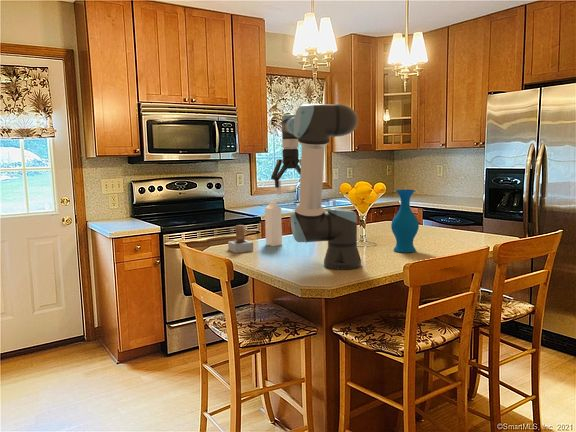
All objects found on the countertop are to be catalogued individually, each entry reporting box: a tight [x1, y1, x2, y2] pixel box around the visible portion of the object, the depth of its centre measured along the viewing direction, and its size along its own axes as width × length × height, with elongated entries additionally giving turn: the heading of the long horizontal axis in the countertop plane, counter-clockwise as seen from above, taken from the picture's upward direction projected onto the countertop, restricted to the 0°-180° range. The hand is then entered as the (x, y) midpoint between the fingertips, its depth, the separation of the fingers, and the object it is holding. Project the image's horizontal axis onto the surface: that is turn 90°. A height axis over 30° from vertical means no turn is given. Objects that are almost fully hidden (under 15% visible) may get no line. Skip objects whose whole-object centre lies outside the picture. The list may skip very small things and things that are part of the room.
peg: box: [235, 224, 246, 244], centre depth 225 cm, size 4×4×12 cm
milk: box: [264, 200, 283, 247], centre depth 237 cm, size 6×6×22 cm
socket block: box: [227, 239, 254, 254], centre depth 226 cm, size 9×9×4 cm
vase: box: [390, 189, 420, 254], centre depth 215 cm, size 12×13×28 cm
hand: (291, 193), depth 223 cm, fingers open, 13 cm apart
